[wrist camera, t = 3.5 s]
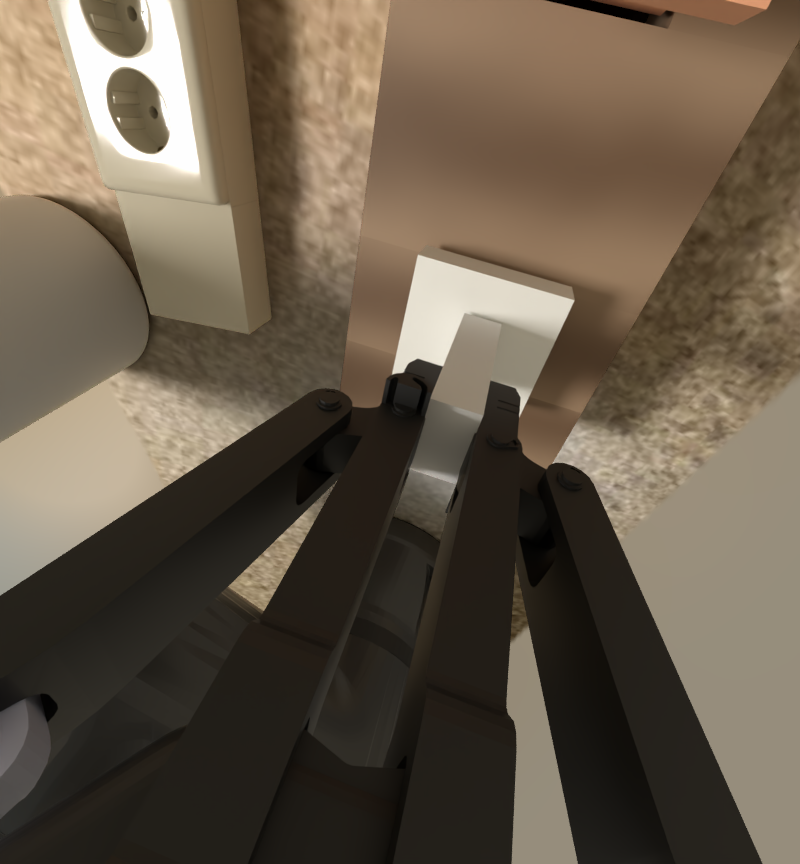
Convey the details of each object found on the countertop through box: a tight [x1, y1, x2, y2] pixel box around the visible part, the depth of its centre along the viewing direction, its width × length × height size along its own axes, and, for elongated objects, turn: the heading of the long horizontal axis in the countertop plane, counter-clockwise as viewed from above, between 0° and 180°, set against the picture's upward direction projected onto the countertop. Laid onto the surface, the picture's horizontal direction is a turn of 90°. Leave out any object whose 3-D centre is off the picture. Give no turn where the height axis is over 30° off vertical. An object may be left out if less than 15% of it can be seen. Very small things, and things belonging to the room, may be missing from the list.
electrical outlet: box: [47, 0, 272, 334], centre depth 23 cm, size 7×4×18 cm
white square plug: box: [392, 245, 575, 417], centre depth 20 cm, size 6×6×7 cm
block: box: [340, 0, 800, 469], centre depth 18 cm, size 26×12×6 cm, turn 168°
